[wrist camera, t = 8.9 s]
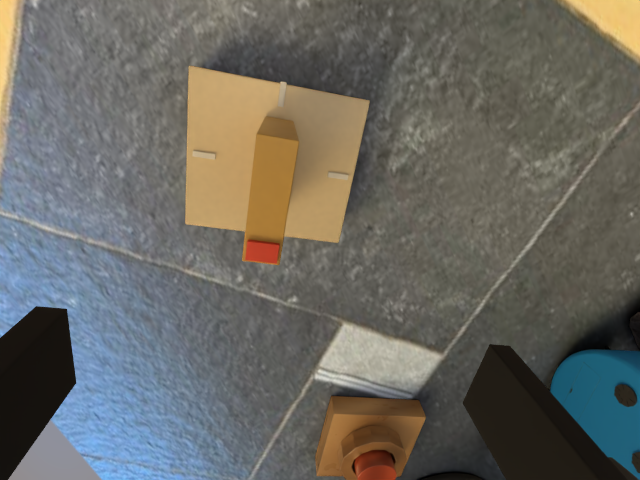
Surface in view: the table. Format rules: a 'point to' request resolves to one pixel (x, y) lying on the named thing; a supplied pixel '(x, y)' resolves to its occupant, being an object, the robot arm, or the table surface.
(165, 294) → the table surface
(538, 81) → the table surface
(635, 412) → the alarm clock
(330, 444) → the button block
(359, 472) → the button
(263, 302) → the table surface
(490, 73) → the table surface
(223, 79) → the panel
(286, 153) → the lock knob
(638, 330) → the rock
